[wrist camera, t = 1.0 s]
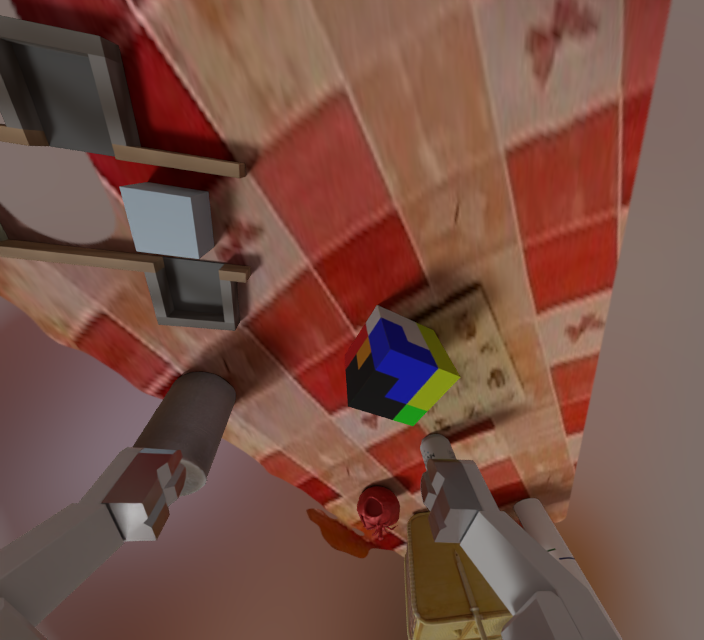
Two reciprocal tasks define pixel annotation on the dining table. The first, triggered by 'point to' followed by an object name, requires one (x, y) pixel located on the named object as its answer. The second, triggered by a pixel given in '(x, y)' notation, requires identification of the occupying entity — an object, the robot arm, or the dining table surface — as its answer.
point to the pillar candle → (191, 424)
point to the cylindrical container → (552, 542)
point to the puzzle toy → (397, 368)
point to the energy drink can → (436, 448)
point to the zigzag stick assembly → (108, 139)
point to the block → (169, 219)
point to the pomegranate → (378, 509)
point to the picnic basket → (447, 591)
